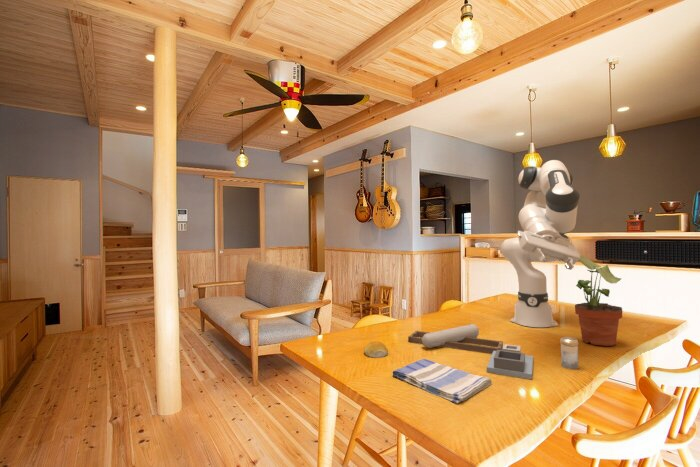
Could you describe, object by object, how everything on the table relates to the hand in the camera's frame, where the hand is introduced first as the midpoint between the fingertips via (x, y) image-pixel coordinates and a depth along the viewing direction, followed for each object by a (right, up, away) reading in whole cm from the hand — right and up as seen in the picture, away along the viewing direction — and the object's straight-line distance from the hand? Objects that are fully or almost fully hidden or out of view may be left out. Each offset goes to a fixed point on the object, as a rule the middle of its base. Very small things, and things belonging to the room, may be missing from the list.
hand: (557, 264), depth 109 cm
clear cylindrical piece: (+1, -31, -4) cm, 32 cm away
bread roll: (-57, -33, +12) cm, 67 cm away
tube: (-29, -32, +20) cm, 47 cm away
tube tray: (-27, -32, +19) cm, 46 cm away
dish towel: (-41, -33, -11) cm, 54 cm away
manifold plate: (-16, -32, -3) cm, 36 cm away
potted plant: (+25, -31, +16) cm, 43 cm away
